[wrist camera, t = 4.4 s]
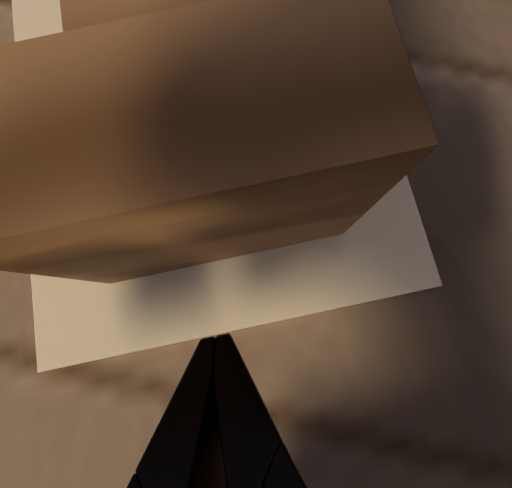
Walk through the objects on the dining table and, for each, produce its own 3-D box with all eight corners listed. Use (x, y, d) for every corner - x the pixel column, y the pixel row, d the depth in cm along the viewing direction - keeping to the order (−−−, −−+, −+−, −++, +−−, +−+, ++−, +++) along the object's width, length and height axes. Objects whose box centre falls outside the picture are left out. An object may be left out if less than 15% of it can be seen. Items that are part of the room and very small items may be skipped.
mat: (13, -35, 20) (8, -40, 20) (315, -100, 20) (315, -106, 20) (41, 371, 15) (37, 372, 15) (439, 286, 15) (442, 285, 15)
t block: (80, 35, 19) (-92, -209, 10) (278, -7, 19) (286, -289, 10) (110, 283, 16) (-96, 259, 7) (342, 233, 16) (439, 144, 7)
